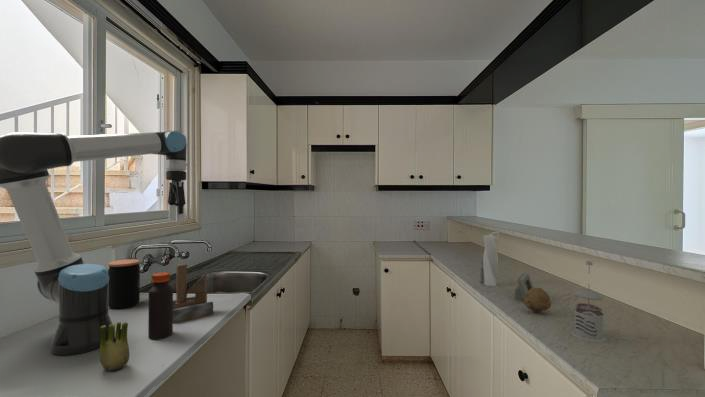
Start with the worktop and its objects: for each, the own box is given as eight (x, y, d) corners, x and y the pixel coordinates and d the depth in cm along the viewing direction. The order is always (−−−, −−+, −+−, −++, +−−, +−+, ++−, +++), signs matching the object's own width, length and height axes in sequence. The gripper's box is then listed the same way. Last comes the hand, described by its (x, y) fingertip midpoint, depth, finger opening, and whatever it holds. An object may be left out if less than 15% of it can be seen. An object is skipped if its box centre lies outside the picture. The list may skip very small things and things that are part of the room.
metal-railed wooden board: (172, 323, 114) (172, 310, 114) (164, 313, 124) (164, 301, 124) (213, 314, 123) (213, 302, 123) (203, 305, 133) (203, 294, 133)
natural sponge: (556, 315, 125) (557, 290, 125) (539, 318, 122) (540, 292, 122) (536, 307, 134) (536, 284, 134) (520, 310, 131) (520, 285, 131)
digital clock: (529, 305, 137) (530, 280, 137) (508, 299, 144) (508, 276, 144) (543, 297, 148) (543, 274, 148) (522, 292, 155) (522, 270, 155)
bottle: (175, 335, 105) (176, 274, 105) (152, 342, 100) (152, 277, 100) (168, 329, 109) (168, 270, 109) (145, 335, 104) (145, 274, 104)
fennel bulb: (97, 373, 82) (97, 326, 82) (111, 363, 87) (111, 319, 87) (119, 373, 82) (119, 326, 82) (132, 363, 87) (132, 319, 87)
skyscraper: (496, 283, 172) (497, 231, 172) (500, 287, 164) (501, 233, 164) (479, 282, 173) (480, 231, 173) (483, 286, 165) (483, 232, 165)
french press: (598, 345, 100) (600, 265, 100) (558, 331, 110) (560, 259, 110) (612, 338, 105) (613, 262, 105) (572, 325, 115) (573, 256, 115)
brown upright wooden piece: (204, 311, 124) (205, 264, 124) (174, 313, 122) (174, 265, 121) (207, 307, 128) (207, 262, 127) (177, 309, 125) (177, 263, 125)
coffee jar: (144, 304, 134) (144, 261, 134) (115, 311, 125) (115, 265, 125) (132, 299, 140) (132, 258, 140) (103, 306, 131) (103, 262, 131)
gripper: (194, 169, 129) (193, 222, 129) (179, 172, 148) (178, 218, 148) (173, 168, 124) (172, 223, 124) (160, 171, 143) (160, 219, 143)
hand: (176, 221), depth 136 cm, fingers open, 13 cm apart
